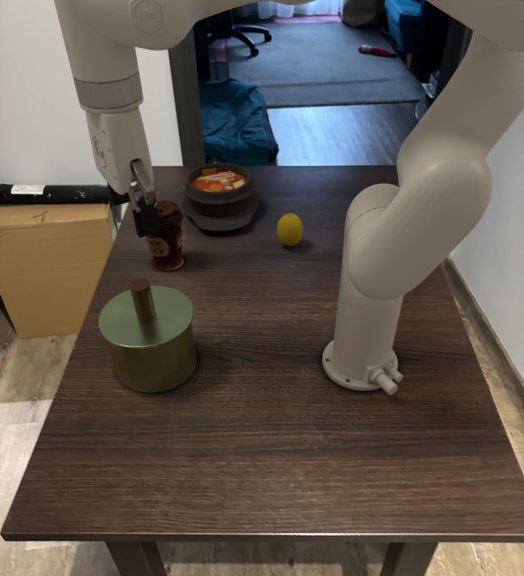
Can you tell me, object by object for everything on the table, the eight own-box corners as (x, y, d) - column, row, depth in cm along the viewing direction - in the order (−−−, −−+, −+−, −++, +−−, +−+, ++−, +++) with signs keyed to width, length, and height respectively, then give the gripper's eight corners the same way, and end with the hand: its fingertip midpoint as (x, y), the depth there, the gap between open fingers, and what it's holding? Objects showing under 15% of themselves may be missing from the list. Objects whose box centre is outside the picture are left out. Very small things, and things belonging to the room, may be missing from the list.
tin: (210, 371, 89) (204, 325, 82) (135, 405, 84) (122, 359, 77) (176, 326, 97) (168, 280, 90) (105, 354, 92) (91, 309, 85)
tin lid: (210, 329, 82) (206, 292, 77) (120, 366, 76) (109, 330, 71) (170, 280, 91) (164, 245, 86) (87, 311, 85) (75, 275, 80)
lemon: (273, 241, 117) (273, 209, 111) (297, 237, 118) (298, 205, 112) (281, 255, 113) (282, 222, 107) (305, 250, 114) (307, 218, 108)
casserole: (181, 187, 135) (176, 156, 129) (253, 182, 136) (252, 150, 130) (184, 241, 117) (179, 207, 111) (266, 234, 119) (266, 200, 113)
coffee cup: (167, 280, 107) (157, 224, 98) (139, 265, 111) (127, 210, 102) (196, 259, 112) (189, 204, 103) (168, 246, 116) (159, 192, 107)
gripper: (57, 74, 66) (90, 199, 78) (103, 120, 55) (133, 256, 67) (114, 64, 69) (137, 185, 81) (168, 105, 58) (186, 238, 70)
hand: (135, 217), depth 74 cm, fingers open, 9 cm apart
